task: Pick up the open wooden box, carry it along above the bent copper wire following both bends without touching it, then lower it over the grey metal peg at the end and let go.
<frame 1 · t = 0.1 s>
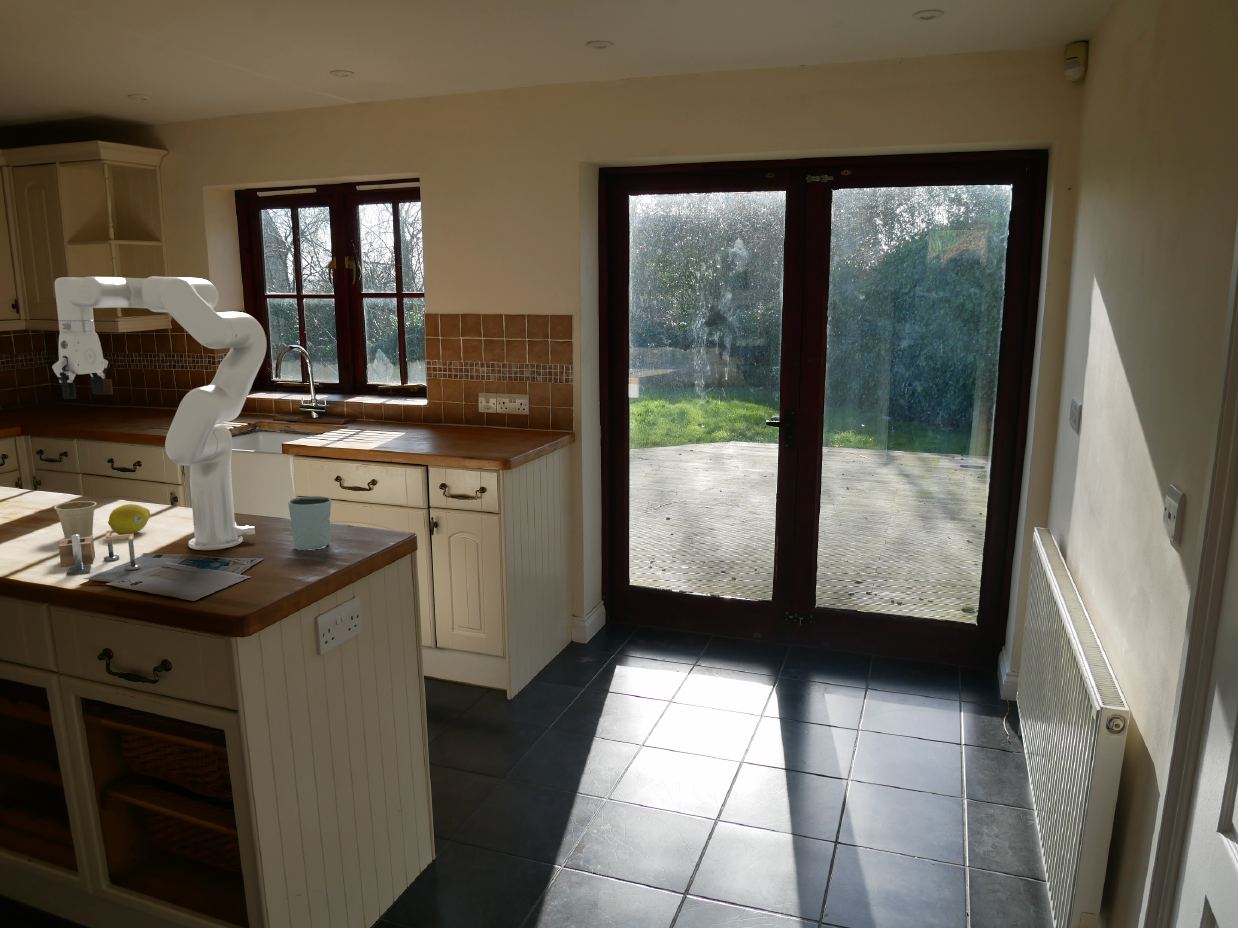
hand: (84, 396, 220), 37 cm above the worktop, tool pointing down, fingers open, 9 cm apart
light blue cup: (312, 546, 222), on the worktop
lemon: (131, 534, 232), on the worktop
flower pot: (79, 537, 228), on the worktop
open wooden box: (78, 561, 208), on the worktop
buzz wire: (120, 563, 206), on the worktop
peg stand: (79, 571, 200), on the worktop
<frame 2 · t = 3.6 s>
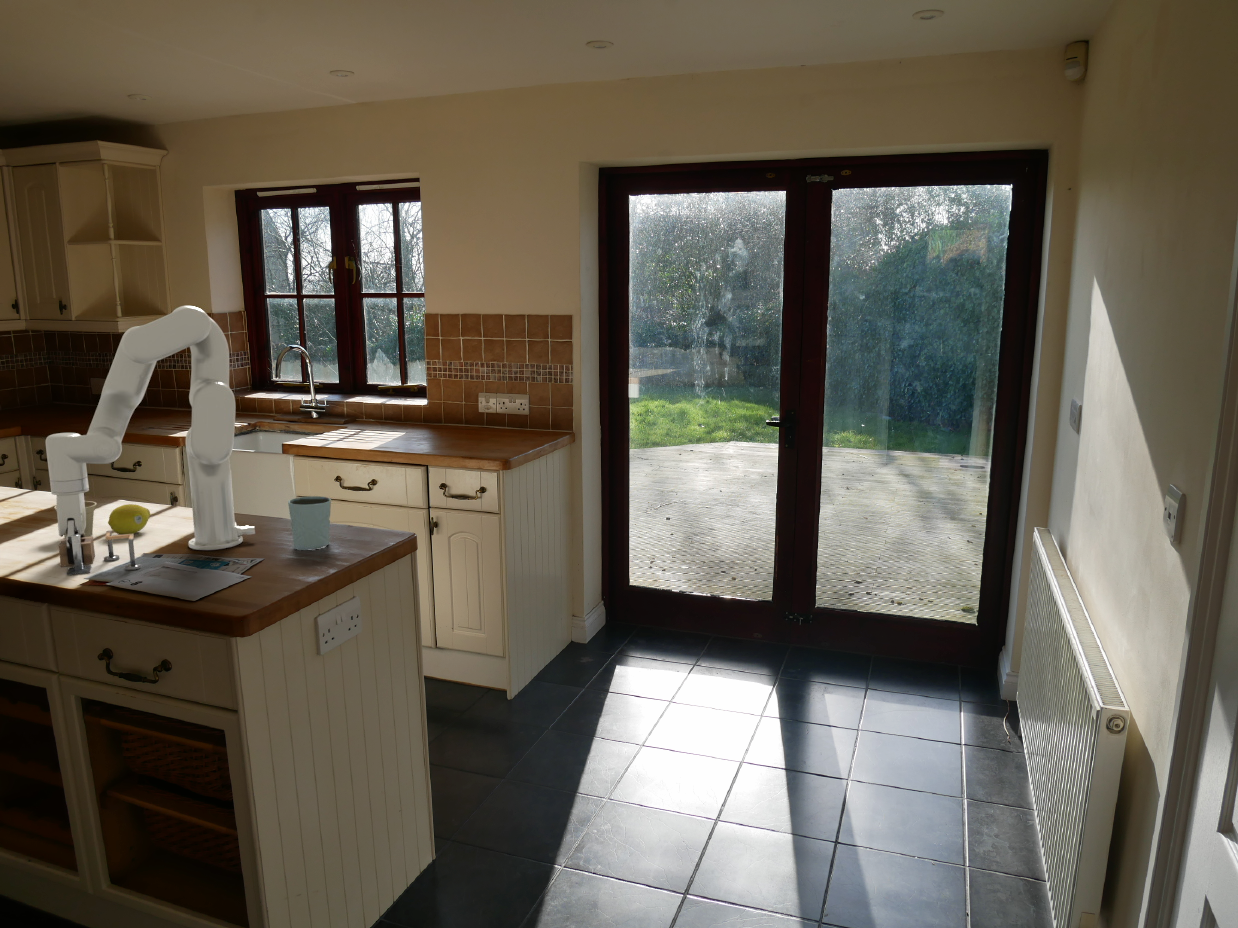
hand: (77, 558, 207), 1 cm above the worktop, tool pointing down, fingers closed on open wooden box, 6 cm apart
open wooden box: (78, 561, 208), on the worktop, touching gripper
everything else where it was.
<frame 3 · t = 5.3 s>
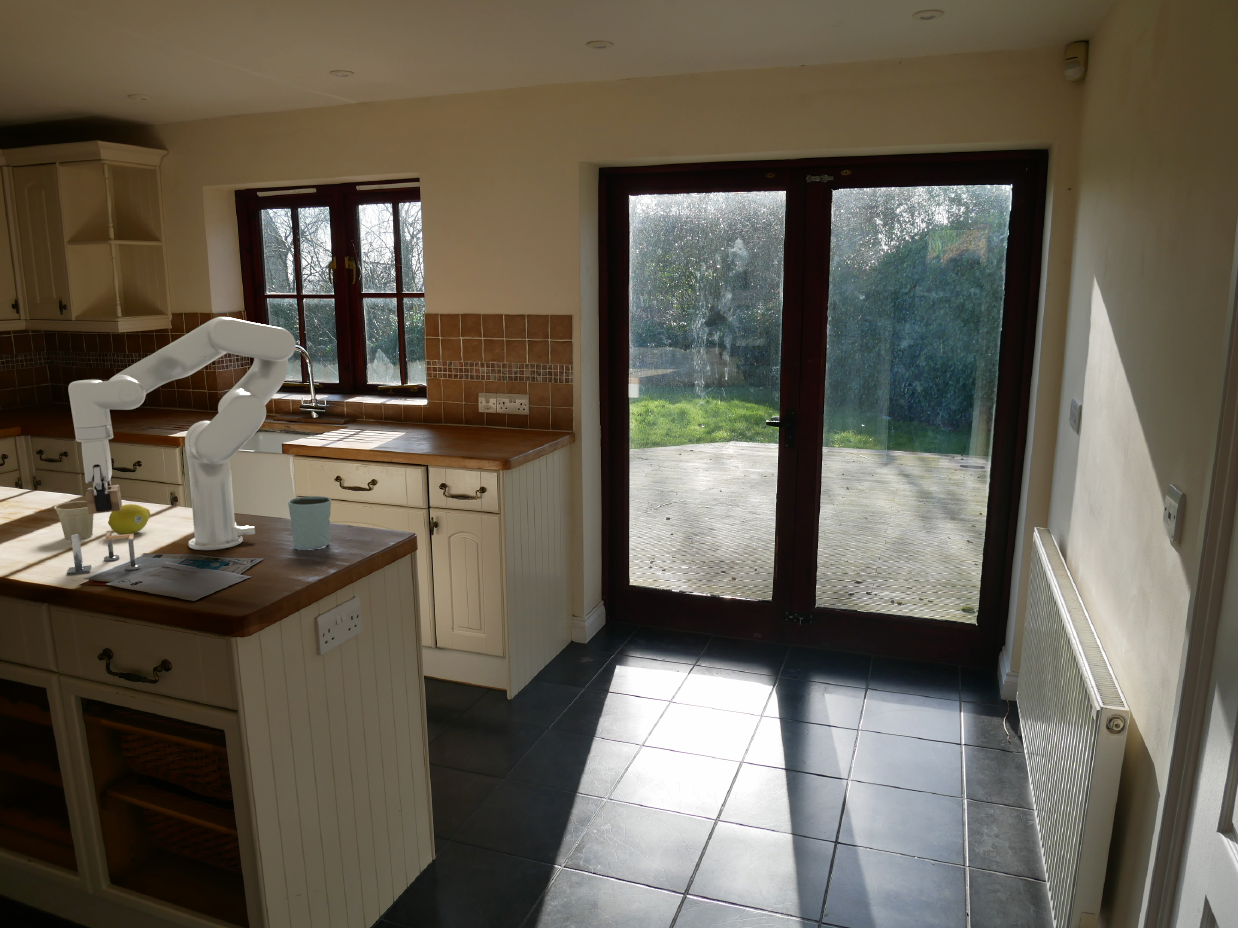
hand: (105, 506, 207), 13 cm above the worktop, tool pointing down, fingers closed on open wooden box, 6 cm apart
open wooden box: (105, 509, 207), point 12 cm above the worktop, touching gripper
everything else where it was.
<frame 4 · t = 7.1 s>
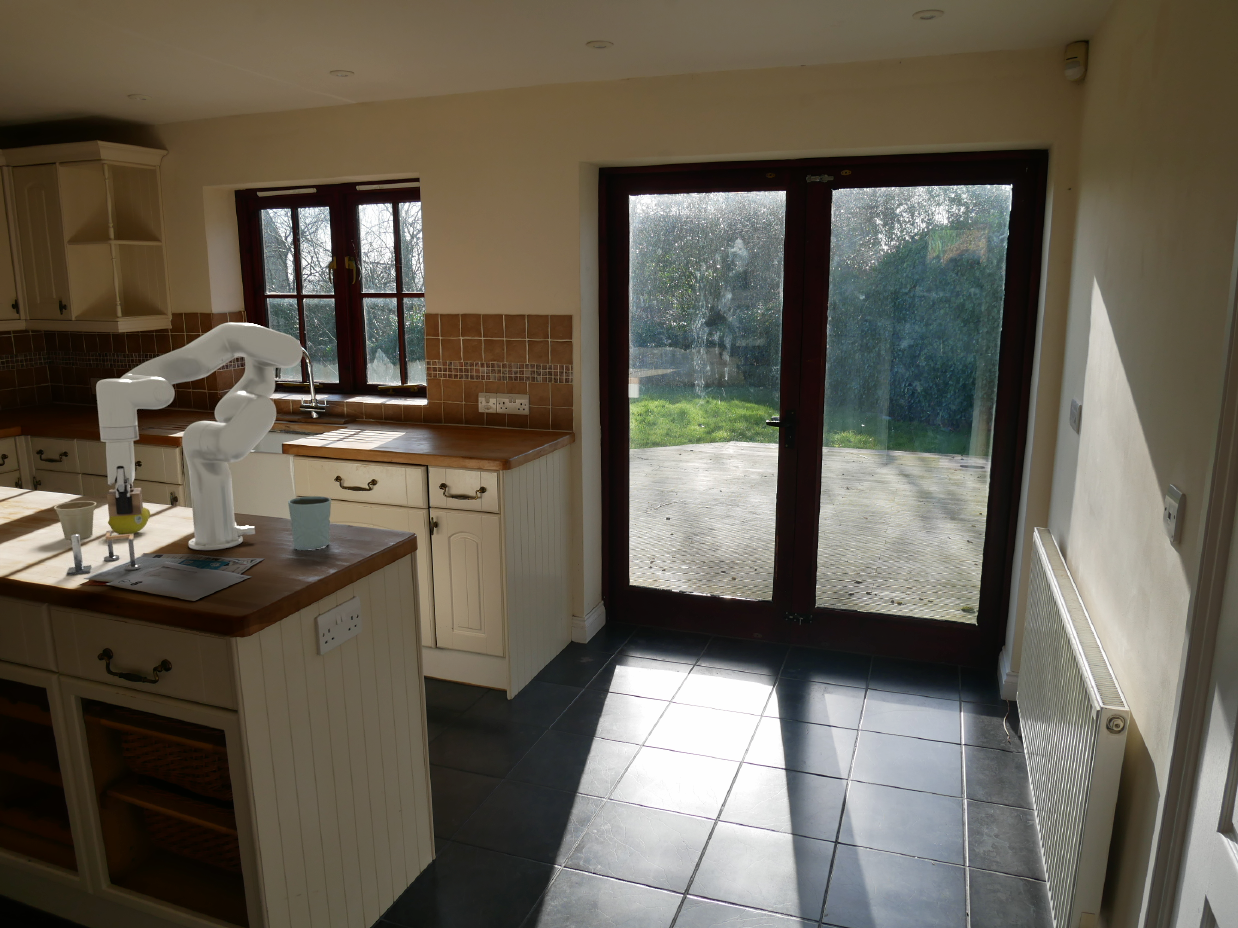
hand: (126, 509, 201), 14 cm above the worktop, tool pointing down, fingers closed on open wooden box, 6 cm apart
open wooden box: (126, 512, 201), point 13 cm above the worktop, touching gripper
everything else where it was.
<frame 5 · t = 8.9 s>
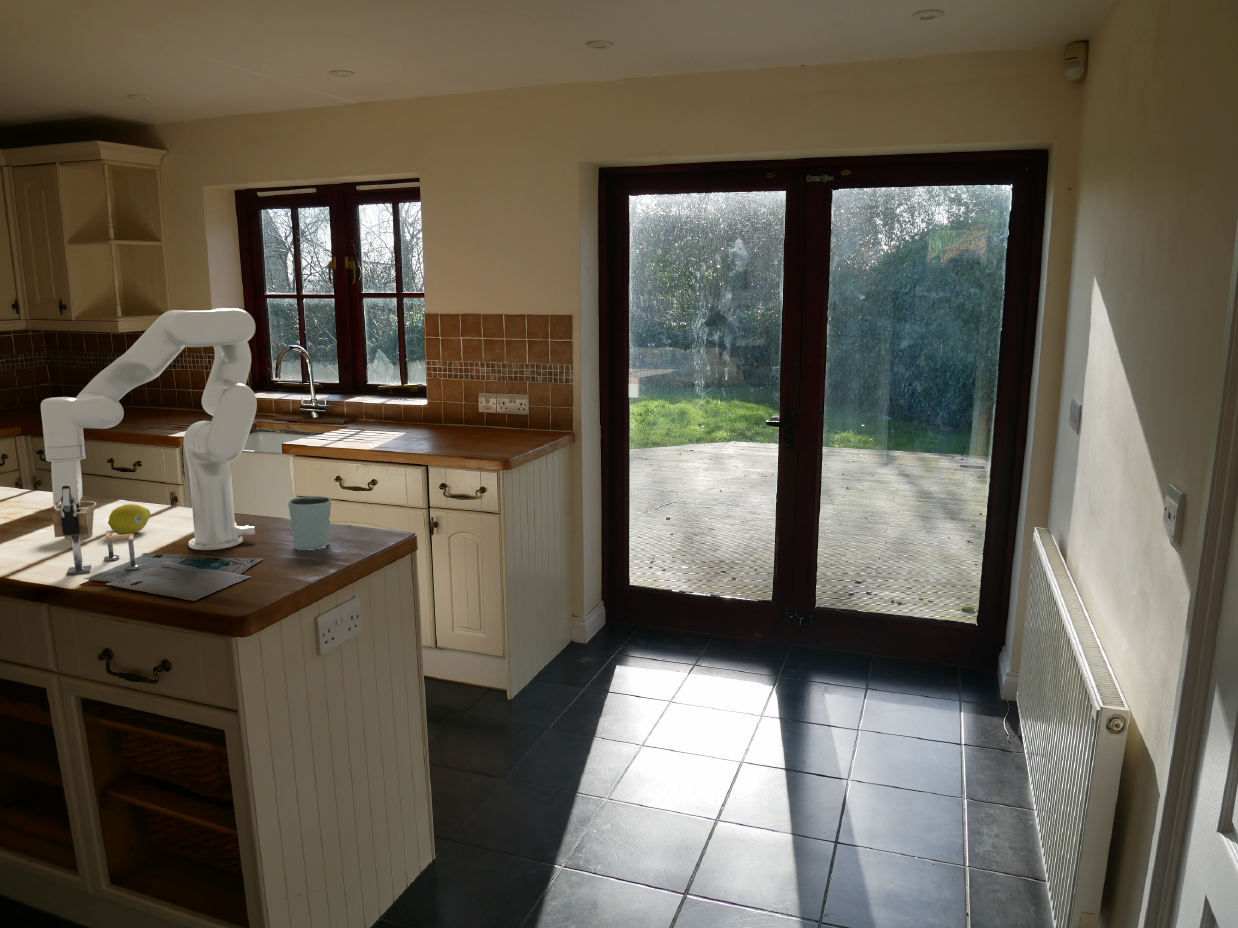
hand: (73, 529, 198), 10 cm above the worktop, tool pointing down, fingers closed on open wooden box, 6 cm apart
open wooden box: (73, 532, 198), point 9 cm above the worktop, touching gripper
everything else where it was.
when the fingers open (2 cm above the worktop, at t = 10.7 s): open wooden box stays where it is, resting on peg stand.
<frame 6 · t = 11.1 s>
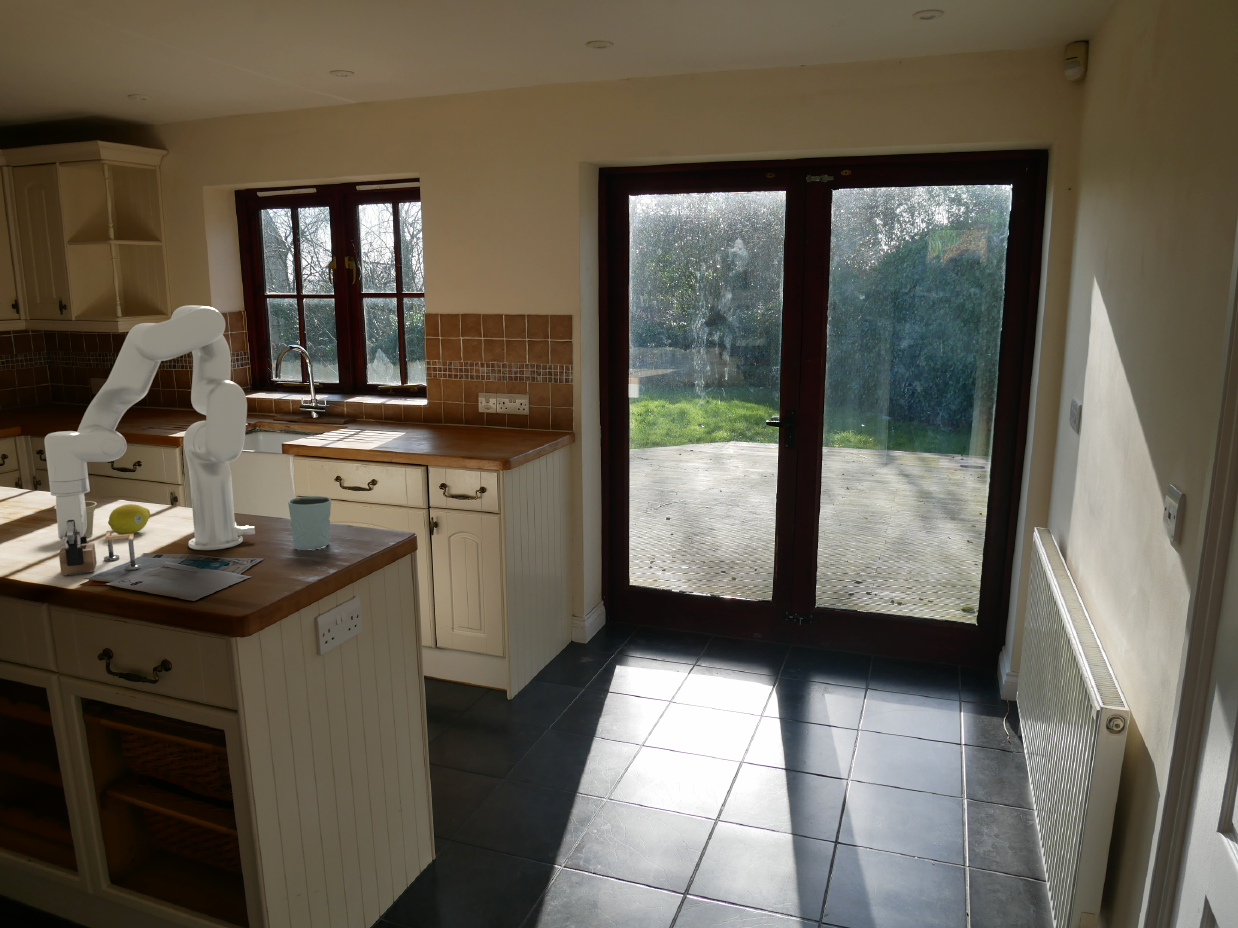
hand: (78, 559, 200), 3 cm above the worktop, tool pointing down, fingers open, 9 cm apart
open wooden box: (79, 568, 200), point 1 cm above the worktop, touching peg stand
everything else where it was.
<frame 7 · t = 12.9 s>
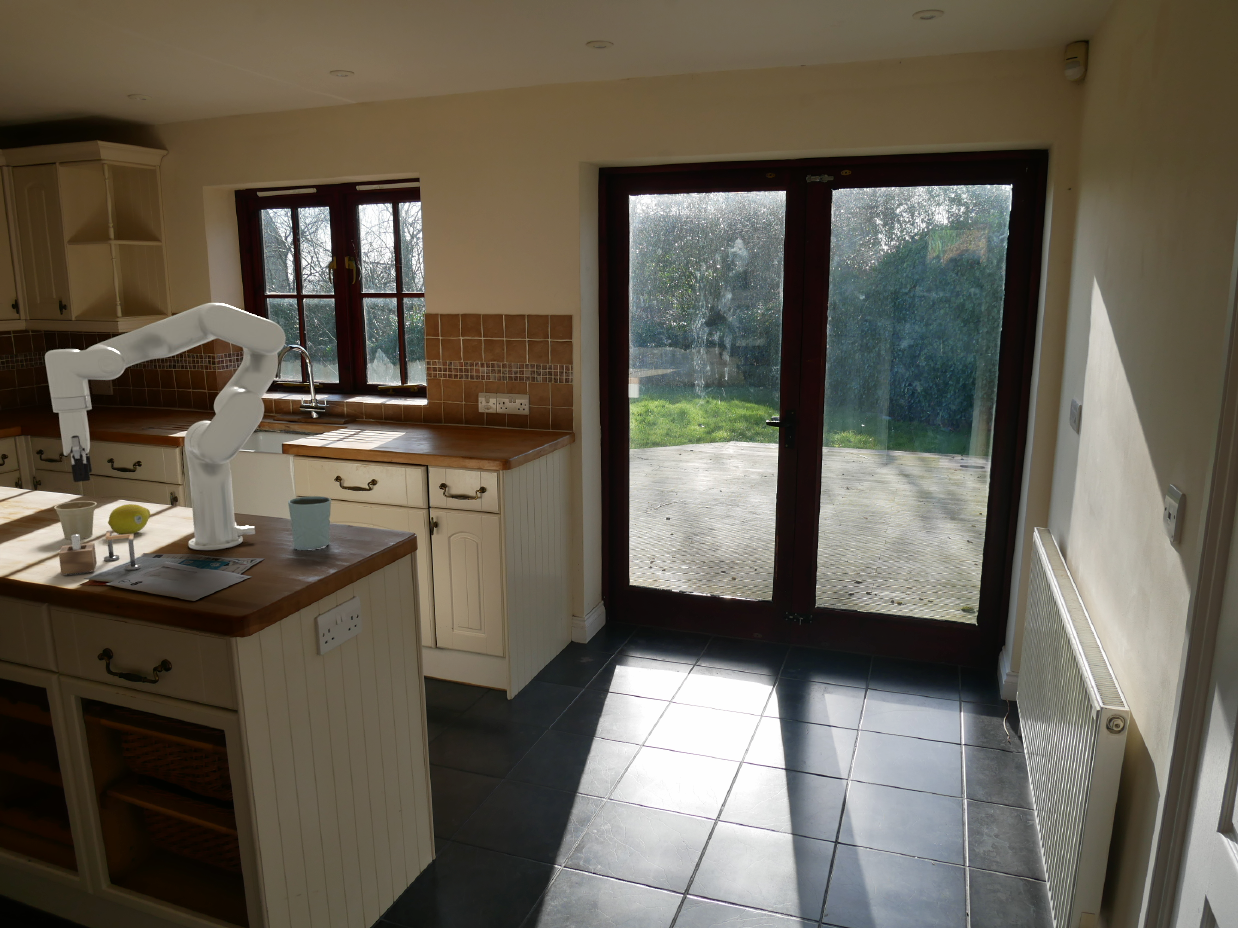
hand: (83, 477, 202), 21 cm above the worktop, tool pointing down, fingers open, 9 cm apart
nothing on the worktop moved.
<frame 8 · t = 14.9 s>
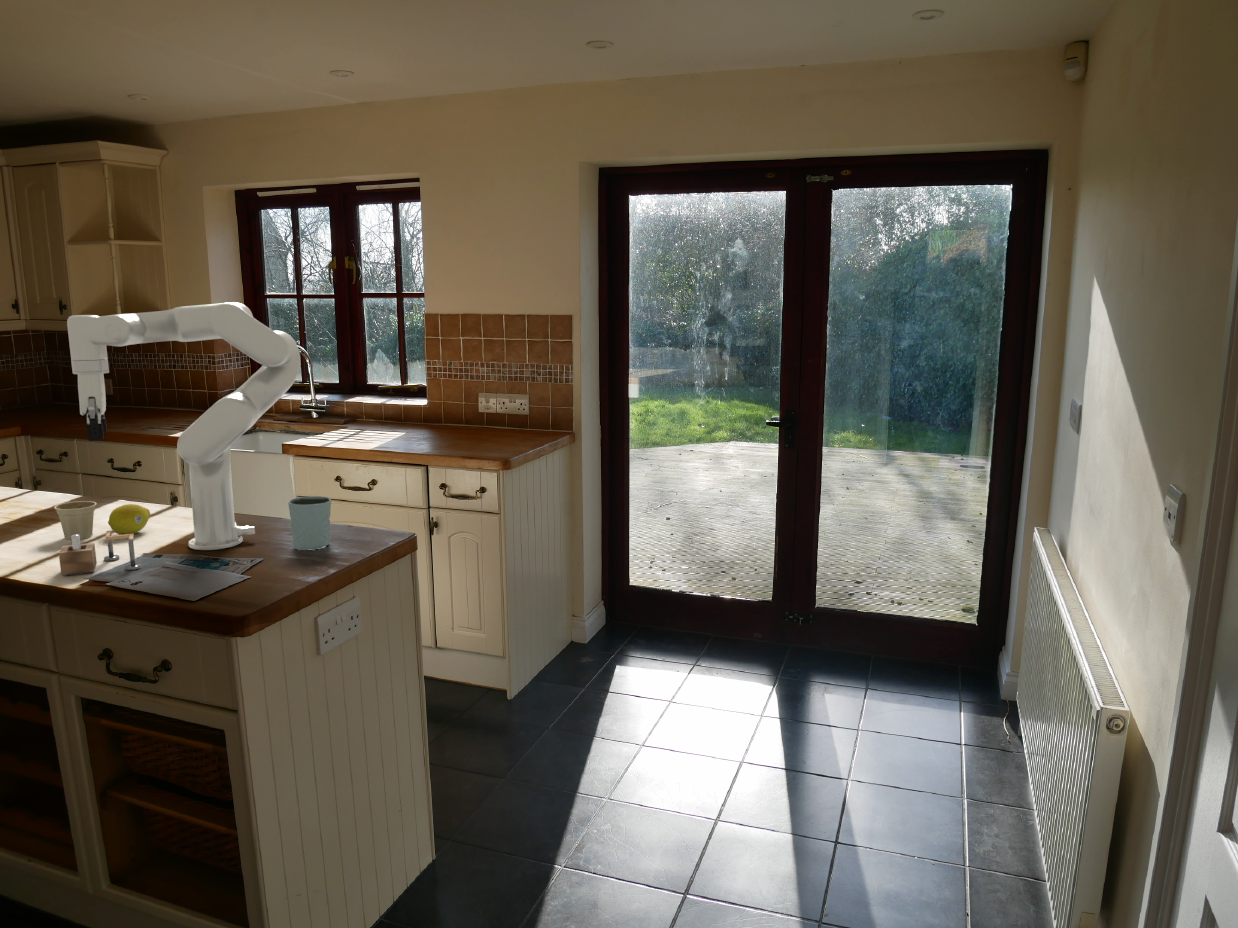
hand: (97, 437, 212), 28 cm above the worktop, tool pointing down, fingers open, 9 cm apart
nothing on the worktop moved.
at the end: open wooden box 0.0 cm off-centre on the peg stand, point 0.6 cm above the peg stand's base; open wooden box touching peg stand; the gripper is holding nothing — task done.
